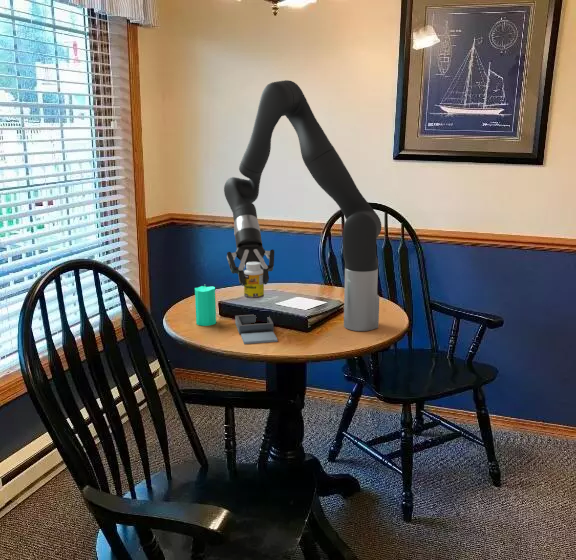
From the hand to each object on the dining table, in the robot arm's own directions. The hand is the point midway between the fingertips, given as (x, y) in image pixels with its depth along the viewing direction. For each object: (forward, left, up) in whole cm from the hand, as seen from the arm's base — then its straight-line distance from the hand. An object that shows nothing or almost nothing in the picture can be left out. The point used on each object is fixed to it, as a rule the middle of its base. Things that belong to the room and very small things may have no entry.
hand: (254, 283), depth 165 cm
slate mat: (0, +8, -14) cm, 16 cm away
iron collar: (0, -2, -14) cm, 14 cm away
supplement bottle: (0, -2, -5) cm, 5 cm away
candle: (+13, -9, -14) cm, 21 cm away
